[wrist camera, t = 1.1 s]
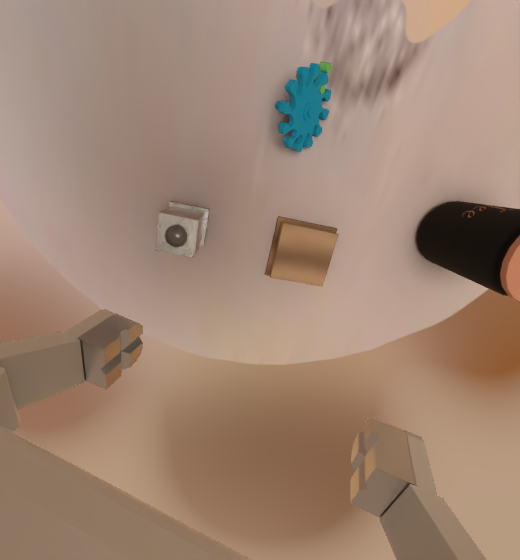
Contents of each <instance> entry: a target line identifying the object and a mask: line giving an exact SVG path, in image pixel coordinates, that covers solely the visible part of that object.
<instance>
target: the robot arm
mask: <svg viewBox="0 0 520 560" xmlns="http://www.w3.org/2000/svg"><path fill="white" fill-rule="evenodd" d="M142 333H143V327H142V325H141V324H139V323H137V322H134V321H132V320H130V319H127V318H125V317H123V316H121V315H118V314H115V313H113V312H111V311H109V310H106V309H104V310H100V311H98V312H97V313H95V314H94V315H92V316H90V317H88V318H87V319H85V320H84V321H82V322H80V323H78V324H77V325H75V326H74V327H72V328H70V329H69V330H67V331H65V332H64V333H63V332H60V331H58V332H54V333H48V334H43V335H38V336H34V337H29V338H24V339H19V340H14V341H9V342H4V343H0V560H251V559H249V558H248V557H246V556H244V555H242V554H240V553H238V552H236V551H235V550H233V549H231V548H229V547H227V546H225V545H223V544H222V543H220V542H218V541H216V540H214V539H212V538H210V537H208V536H206V535H205V534H203V533H201V532H199V531H197V530H195V529H194V528H191V527H190V526H188V525H186V524H184V523H182V522H180V521H179V520H177V519H175V518H173V517H171V516H169V515H167V514H166V513H164V512H162V511H160V510H158V509H156V508H154V507H152V506H150V505H149V504H147V503H145V502H143V501H141V500H139V499H137V498H136V497H134V496H132V495H130V494H128V493H126V492H124V491H122V490H121V489H119V488H117V487H115V486H113V485H111V484H109V483H108V482H105V481H104V480H102V479H100V478H98V477H96V476H94V475H92V474H91V473H89V472H87V471H85V470H83V469H81V468H79V467H77V466H76V465H74V464H72V463H70V462H68V461H66V460H64V459H62V458H61V457H59V456H57V455H55V454H53V453H51V452H50V451H48V450H46V449H44V448H42V447H40V446H38V445H36V444H35V443H33V442H31V441H29V440H27V439H25V438H23V437H21V436H19V435H18V434H16V433H14V431H15V430H16V429H18V428H19V427H20V424H21V420H20V417H19V414H18V409H21V408H23V407H26V406H28V405H31V404H33V403H35V402H38V401H40V400H42V399H45V398H47V397H49V396H52V395H54V394H57V393H59V392H62V391H64V390H67V389H69V388H71V387H74V386H76V385H79V384H81V383H83V382H85V381H88V382H90V383H92V384H95V385H97V386H99V387H101V388H104V389H107V388H108V387H110V386H111V385H112V384H113V383H114V382H115V381H116V380H117V379H118V378H119V377H120V376H121V373H122V370H123V369H126V368H129V367H131V366H132V365H133V364H134V363H135V362H136V361H137V359H138V357H139V356H140V354H141V351H142V345H143V343H142V341H141V339H140V338H139V336H140V335H141V334H142ZM351 465H352V467H353V469H354V471H355V473H354V474H353V476H352V478H351V484H350V488H351V490H350V503H352V504H353V505H355V506H358V507H359V508H361V509H363V510H366V511H368V512H370V513H372V514H374V515H376V516H378V517H380V522H381V524H382V526H383V529H384V531H385V533H386V536H387V538H388V540H389V543H390V545H391V547H392V549H393V552H394V554H395V557H396V559H397V560H486V558H485V557H484V555H483V554H482V553H481V551H480V550H479V548H478V547H477V545H476V544H475V543H474V541H473V540H472V538H471V537H470V536H469V534H468V533H467V532H466V530H465V529H464V527H463V526H462V525H461V523H460V521H459V520H458V519H457V517H456V516H455V515H454V513H453V512H452V510H451V509H450V507H449V506H448V505H447V503H446V502H445V500H444V499H443V498H441V497H439V496H437V492H436V488H435V484H434V480H433V476H432V472H431V468H430V464H429V460H428V455H427V451H426V447H425V443H424V440H423V439H422V437H420V436H418V435H415V434H412V433H410V432H407V431H405V430H402V429H400V428H397V427H395V426H392V425H390V424H387V423H385V422H382V421H379V420H377V419H374V418H372V417H369V418H368V419H367V420H366V422H365V423H364V431H363V432H360V433H358V435H357V437H356V439H355V441H354V444H353V447H352V454H351Z"/></svg>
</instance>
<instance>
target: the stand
mask: <svg viewBox="0 0 520 560" xmlns="http://www.w3.org/2000/svg"><path fill="white" fill-rule="evenodd" d="M336 232H337V229H336V228H332V227H327V226H322V225H317V224H312V223H308V222H303V221H298V220H293V219H288V218H283V217H278V220H277V225H276V229H275V233H274V238H273V242H272V247H271V251H270V255H269V260H268V264H267V269H266V273H265V274H266V275H269V276H270V277H271V278H276V279H282V280H288V281H294V282H300V283H305V284H311V285H317V286H323V283H324V280H325V277H326V273H327V270H328V267H329V264H330V260H331V257H332V254H333V251H334V247H335V244H336V241H337V238H338V234H337V233H336Z"/></svg>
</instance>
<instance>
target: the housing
mask: <svg viewBox="0 0 520 560" xmlns="http://www.w3.org/2000/svg"><path fill="white" fill-rule="evenodd" d="M209 210H210V209H207V208H202V207H197V206H192V205H187V204H182V203H177V202H172V201H170V202H169V208H167V209H165V210H163V211H161V212H159V216H158V228H157V240H156V251H161V252H166V253H172V254H178V255H184V256H189V257H194V256H195V254H196V252H197V250H198V248H199V246H201V247H204V244H205V237H206V230H207V223H208V217H209Z"/></svg>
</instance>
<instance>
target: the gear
mask: <svg viewBox="0 0 520 560" xmlns="http://www.w3.org/2000/svg"><path fill="white" fill-rule="evenodd" d="M330 70H331V63H327V62H320V63H319V65H318V64H313V63H311V65H310V67H309V68H307V67H299V68H298V69H297V78H298V83H297V81H296V80H289V81H288V83H287V84H286V86H285V89H286V91H287V92H288V94H289V96H290V100H291V103H289V102H287V101H277V103H276V108H277V109H279V110H278V111H279V112H280V113H283V114H287V115H288V117H289V123H285V122H280V123H279V133H281V134H284V135H285V134H287V133H288V132H289V131H290V130H292V135H291V136H290V137H285V138H284V145H285V147H287V148H292V149H293V150H295V151H298V152H301V151H302V148H303V146H304V147H307V148H309V147H311V146H312V144H313V141H312V135H313V136H317V137H318V136H319V135H320V134H321V132H322V128H321V127H320V125H319V119H323V120H326V118H327V116H328V113H329V110H328V109H323V108H322V106H321V101H322V100H324V101H329V100H330V95H331V90H328V89H325V85H326V84H327V82H328V75H327V73H329V72H330ZM297 138H298V140H297V141H296V142H295V140H296V139H297ZM294 142H295V143H294Z"/></svg>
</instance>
